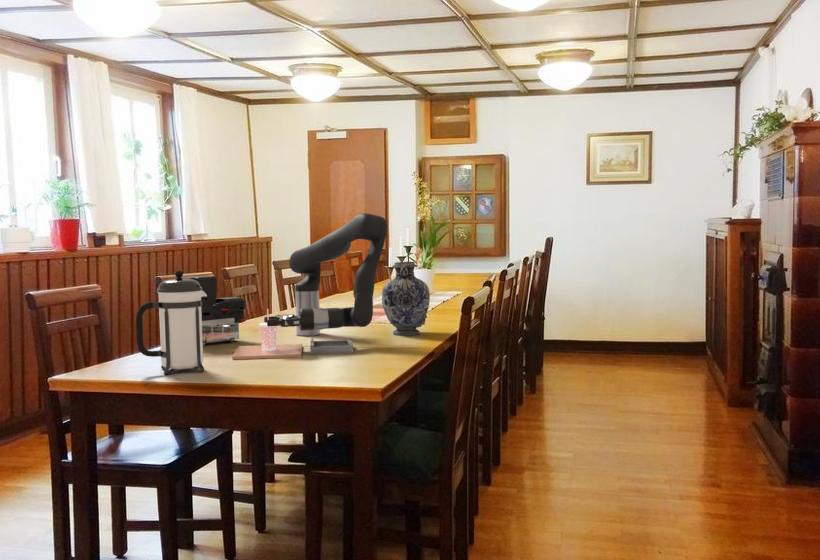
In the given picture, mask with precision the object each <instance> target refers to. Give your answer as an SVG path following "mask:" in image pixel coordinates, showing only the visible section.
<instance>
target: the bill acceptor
mask: <svg viewBox="0 0 820 560" xmlns="http://www.w3.org/2000/svg"><path fill="white" fill-rule="evenodd" d="M181 278H182V279H193V280H196V281H197V282H199V284H200V287H202V291H204V292H205V293H206V295H207V296H203V297H201V300H202V306H201V315H202V343H203V347H205V345H206V344H209V343H211V344H212V343H218V342H227V341H231V343H232V344H233V343H234V342H233V341H235V340H239V339H240V325H239V323H244V322H245V321H244V320H245V314H244V313H245V312H244V310H246V299H244V298H243V297H237V296H230V297H229V296H227V297H218V298H217V295H218V293H217V292H218V289H217V287H218V284H217V283H218V282H217V280H218V279H217V276H211V275H210V276H209V275H207V276H206V275H205V276H197V275H195V276H193V275H192V276H182V277H181Z"/></svg>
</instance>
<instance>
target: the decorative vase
mask: <svg viewBox="0 0 820 560" xmlns="http://www.w3.org/2000/svg"><path fill="white" fill-rule="evenodd" d="M391 268H393V269H394V270H395V277H394V278H393V279H390V280H389V281H387V282H385V284H384V285H383V287H382V292H381V304H382V309H383V311H384V314H385V316H386V318H387V320H388V322H389V323H390V324H391V325H392V326H393V327H394V328H396V329H394V330H393V332H392V335H395V336H403V337H404V336H408V335H409V336H416V335H420V334H421V331H420V330H419V329H418V328H422V326H424V325H425V324H426V323H425V322H426V319H427V317H428V316H427V314H428V311H429V307H430V301H431V300H430V299H431V298H430V297H431V295H430V288H429V286H428V284H427V283H426V282H425V281H423V280H422V279H420V278H417V277H416V276H415V272H414V270H415V268H418V264H416V263H415V262H414V261H398V262H394V264H393V265H392V266H391Z"/></svg>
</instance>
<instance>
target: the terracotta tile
mask: <svg viewBox="0 0 820 560" xmlns="http://www.w3.org/2000/svg"><path fill="white" fill-rule="evenodd" d="M302 351H303V344H302V343H295V344H294V343H293V344H292V343H291V344H276V350H274V351H262V344H260V345H238V346H237V348H236V350H235V351H234V353H233V355H232V356H231V360H232V359H239V360H262V359H261V358H266V359H290V358H291V359H292V357H293V358H302V353H303V352H302Z"/></svg>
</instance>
